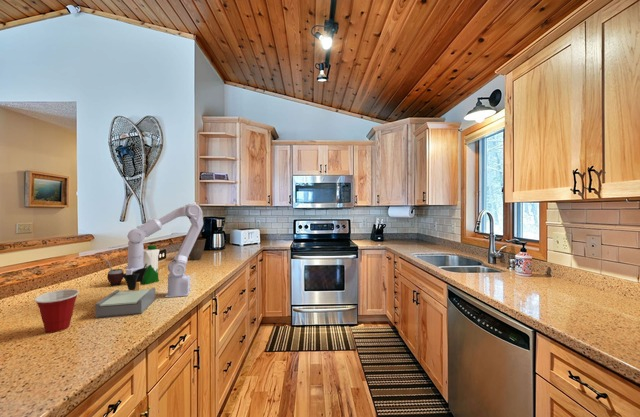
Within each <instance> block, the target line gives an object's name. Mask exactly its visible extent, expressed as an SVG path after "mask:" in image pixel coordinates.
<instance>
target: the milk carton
mask: <svg viewBox="0 0 640 417" xmlns="http://www.w3.org/2000/svg"><path fill="white" fill-rule="evenodd" d="M159 255H160V249H159V248H157V245H156V244H154V245H153V244H151V245H147V248H144V258H143V263H144V268H147V270H146V272H145V274H144V277H143V281H142V284H141V285H149V284H154V283H156V282H159Z"/></svg>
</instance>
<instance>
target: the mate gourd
mask: <svg viewBox="0 0 640 417" xmlns="http://www.w3.org/2000/svg"><path fill="white" fill-rule="evenodd" d="M101 259H102V260H103V261H105V262H106V263H107V265H108V266H109V269H110V270H109V271H108V273H107V277H106V278H107V281H108V283H109V285H110V286H109V287H110V288H112V287H115V286H122V281H123V280H124V277H123V274H125V273H124V272H125V271H124V270H123V269H122V268H115V269H113V267H112V265H111V264H110V261H109V260H108V259H105V258H101Z"/></svg>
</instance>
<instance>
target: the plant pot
mask: <svg viewBox="0 0 640 417" xmlns="http://www.w3.org/2000/svg"><path fill="white" fill-rule="evenodd" d="M206 240H207V239H206V238H197V239H196V241H195V243H194V245H193V248H192V250H191V252H190V254H189V256H188V258H189V260H190V261H199V260H201V259H202V256H203V253H204V251H205V250H204V249H205V245H206Z"/></svg>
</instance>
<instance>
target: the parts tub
mask: <svg viewBox="0 0 640 417" xmlns="http://www.w3.org/2000/svg"><path fill="white" fill-rule="evenodd" d="M149 289H150V290H149V291H148V292H147V293H146V294H145V295H144V296H142V297H141V298H140V299H139V300H138V303H135V304H123V305H111V306H100V305H101V304H102V303H103V302H105V301H106V300H108V299H109V298H111V297H112V296H114V295H115V294H117V293H118V292H120V291H121V290H120V289H116V290H114V291H113V292H111V293H110V294H108V295H107V296H105V297H104V298H102V299H100V300H99V301H98V302H96V303H95V304H94V312H95V313H94V314H95V316H94V318H95V319H100V318H112V317H124V316H133V315H135V316H136V315H142V314H143V313H144V312H145V311H146V310H147V309H148V308H149V307H150V305H152V303H154V301H156V287H152V288H149Z"/></svg>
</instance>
